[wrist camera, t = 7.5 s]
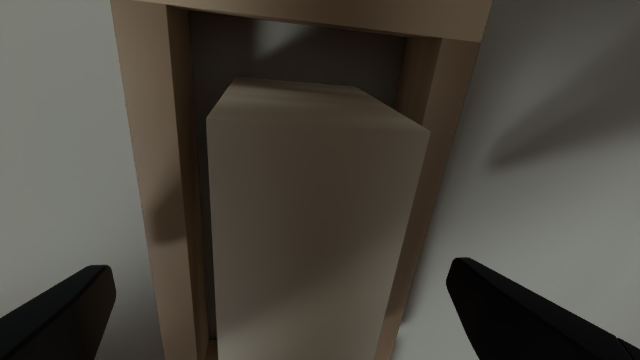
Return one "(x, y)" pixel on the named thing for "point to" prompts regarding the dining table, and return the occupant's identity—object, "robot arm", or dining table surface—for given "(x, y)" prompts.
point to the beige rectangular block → (307, 217)
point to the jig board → (181, 145)
